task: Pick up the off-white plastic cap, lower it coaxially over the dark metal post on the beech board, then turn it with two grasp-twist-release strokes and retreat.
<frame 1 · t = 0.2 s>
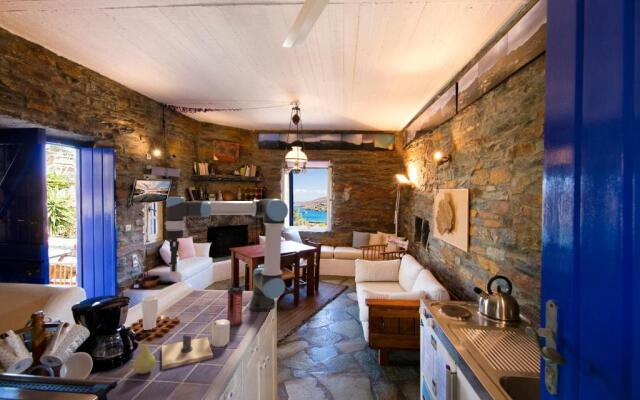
hand: (173, 274, 137), 28 cm above the worktop, fingers open, 13 cm apart
cap: (220, 342, 129), on the worktop
drinking glass: (149, 329, 140), on the worktop
fruit: (143, 373, 106), on the worktop
speaker: (234, 324, 149), on the worktop
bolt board: (186, 353, 120), on the worktop
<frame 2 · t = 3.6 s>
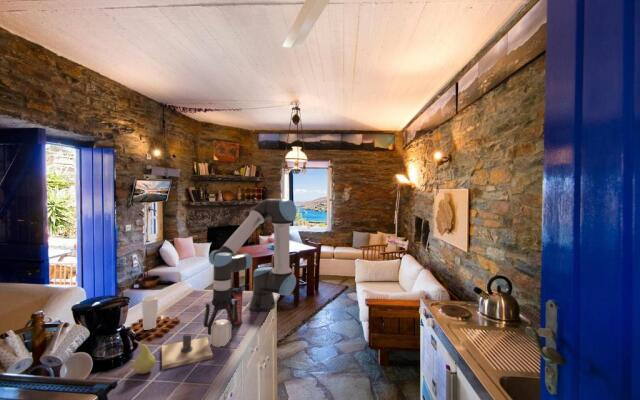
hand: (220, 339, 129), 2 cm above the worktop, fingers closed on cap, 7 cm apart
cap: (220, 342, 129), on the worktop, touching gripper
everything else where it was.
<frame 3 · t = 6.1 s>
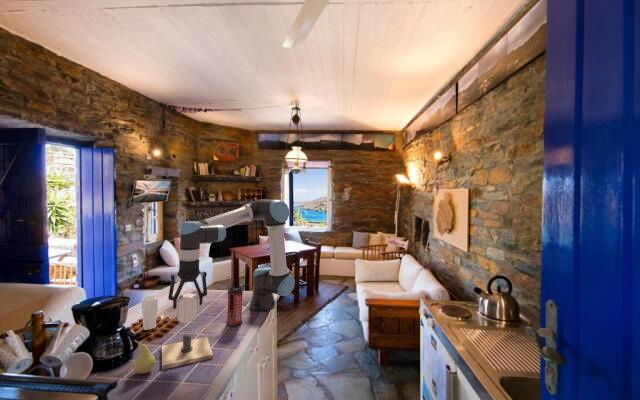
hand: (187, 314, 119), 16 cm above the worktop, fingers closed on cap, 7 cm apart
cap: (187, 318, 119), point 15 cm above the worktop, touching gripper
everything else where it was.
when the fingers open (4 cm above the worktop, at t = 8.6 s): cap stays where it is, resting on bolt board.
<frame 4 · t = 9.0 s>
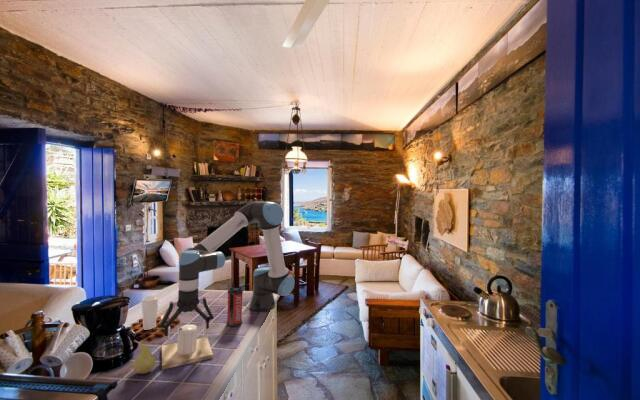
hand: (187, 339, 120), 6 cm above the worktop, fingers open, 13 cm apart
cap: (186, 349, 120), point 1 cm above the worktop, touching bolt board
everything else where it was.
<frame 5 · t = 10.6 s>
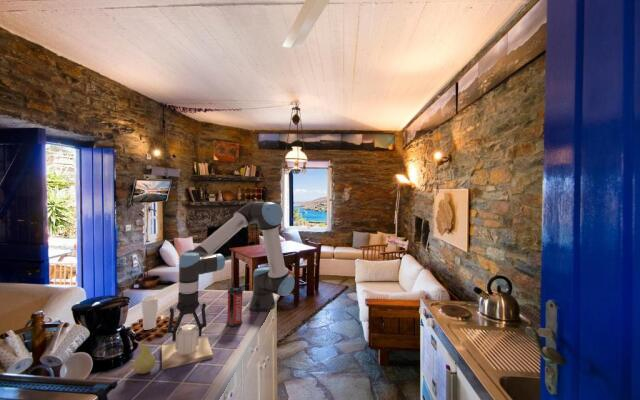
hand: (186, 346, 120), 3 cm above the worktop, fingers closed on cap, 7 cm apart
cap: (186, 349, 120), point 2 cm above the worktop, touching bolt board, gripper
everything else where it was.
when the fingers open (4 cm above the worktop, at t = 11.5 s): cap stays where it is, resting on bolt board.
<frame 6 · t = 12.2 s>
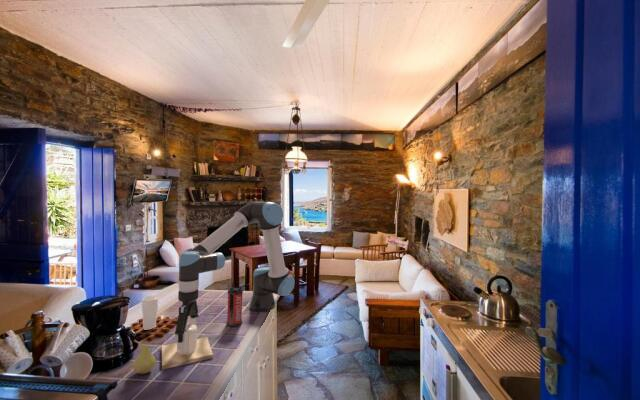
hand: (187, 340, 120), 5 cm above the worktop, fingers open, 13 cm apart
cap: (186, 349, 120), point 1 cm above the worktop, touching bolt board
everything else where it was.
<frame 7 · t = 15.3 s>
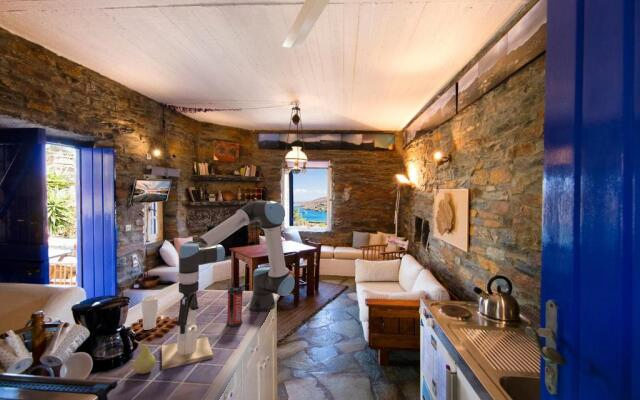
hand: (188, 332, 120), 9 cm above the worktop, fingers open, 13 cm apart
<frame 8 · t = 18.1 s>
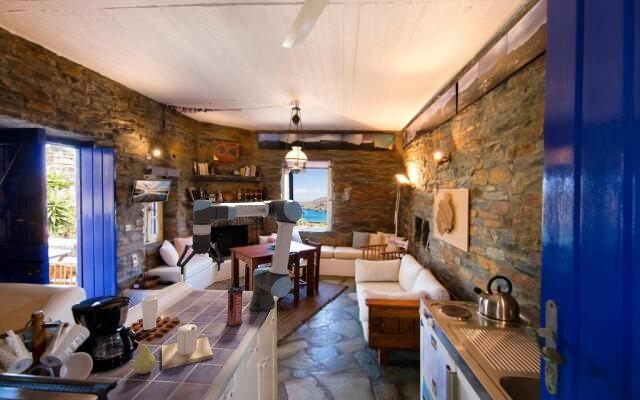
hand: (200, 279, 133), 27 cm above the worktop, fingers open, 13 cm apart
nothing on the worktop moved.
at the end: cap 0.1 cm off-centre on the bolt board, point 1.5 cm above the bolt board's base; cap tilted 0°; the gripper is holding nothing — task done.
